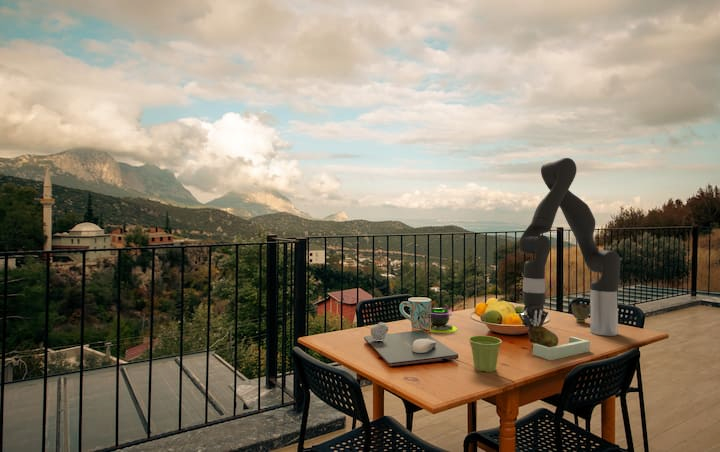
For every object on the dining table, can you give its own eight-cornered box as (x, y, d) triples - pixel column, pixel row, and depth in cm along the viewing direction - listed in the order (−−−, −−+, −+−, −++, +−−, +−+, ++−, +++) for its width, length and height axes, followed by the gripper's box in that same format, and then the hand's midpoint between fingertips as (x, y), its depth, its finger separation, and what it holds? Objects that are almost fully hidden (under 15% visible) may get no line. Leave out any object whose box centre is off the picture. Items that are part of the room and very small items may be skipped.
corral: (571, 346, 144) (571, 336, 144) (589, 351, 138) (589, 341, 138) (532, 354, 134) (532, 344, 134) (550, 360, 129) (550, 349, 129)
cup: (574, 323, 178) (574, 305, 178) (568, 320, 185) (569, 302, 186) (593, 324, 177) (593, 306, 177) (586, 320, 184) (586, 303, 184)
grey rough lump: (386, 344, 145) (386, 325, 145) (367, 342, 147) (367, 323, 147) (390, 340, 150) (390, 321, 150) (372, 338, 153) (372, 320, 153)
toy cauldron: (463, 328, 170) (463, 301, 170) (445, 335, 159) (445, 307, 159) (432, 322, 180) (432, 297, 180) (413, 328, 168) (413, 302, 168)
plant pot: (483, 376, 114) (483, 345, 114) (462, 365, 123) (462, 337, 123) (508, 371, 118) (508, 342, 118) (486, 362, 127) (486, 334, 127)
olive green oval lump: (568, 350, 140) (569, 326, 139) (536, 353, 136) (537, 329, 136) (551, 343, 148) (551, 321, 148) (520, 345, 144) (521, 323, 144)
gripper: (537, 287, 153) (537, 333, 153) (512, 290, 146) (512, 338, 146) (555, 290, 146) (554, 338, 146) (530, 293, 140) (529, 343, 140)
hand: (533, 338), depth 146 cm, fingers closed
